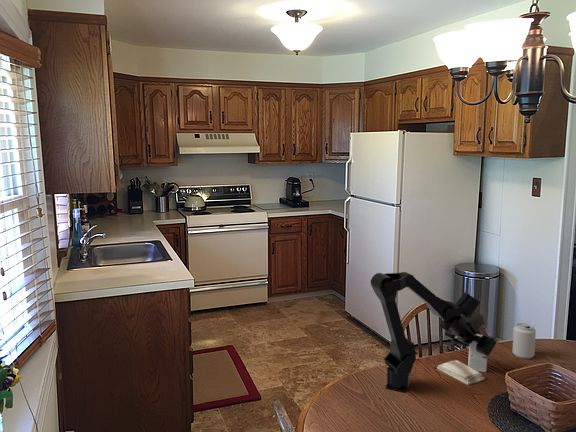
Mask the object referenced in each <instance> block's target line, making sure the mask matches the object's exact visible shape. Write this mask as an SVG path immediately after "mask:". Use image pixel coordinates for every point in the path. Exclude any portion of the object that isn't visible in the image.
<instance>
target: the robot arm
mask: <svg viewBox="0 0 576 432" xmlns="http://www.w3.org/2000/svg"><path fill="white" fill-rule="evenodd" d="M370 286H371V288H372V290H373V293H375V295H376V297H377V298H378V299H379V301H380V304H381V307H382V311H383V314H384V318H385V322H386V325H387V329H388V331H389V336H390V339H391V341H390V344H389V350H390V351H389V352H388V353H387V355H386V356H384V358H383V362H384V363H385V365H386V366H387V369H386V380H387V381H386V385H385V389H387V390H388V389H389V390H393V391H396V392H403V393H405V392H406V391H407V389H408V388H410V381H411V379H410V377H411V375H410V374H411V372H412V369H413V366H414V363H415V362H416V360H417V356H416V355H418V352H416V347H415V343H414V342H413V341H412V340H410V339H408V338H407V337H406V333H405V329H404V327H403V324H402V320H401V317H400V316H401V315H400V313H399V309H398V305H397V301H396V299H397V295H398V292H399V291H402V290H404V289H406V288H407V289H409V290H410V291H411V292H412V293H414V294H415V295H416V296H417V297H418V298H419V299H421V301H423V302H424V303H425V305H426V306H427V308H428V310H429V311H430V312H431V313H432V314H433V315H434V316H437V317H439V318H440V319H442V320H440V324H439V327H440V328H441V329H442V330H444V336H445V337H446V338H447V339H449V340H452V341H453V342H455V343H457V344H460V345H462V346H466V347H468V348H469V344H470V343H472V342H473V341H474V342H476V343H478V344H477V345H476V350H477V352H479V353H481V354H484V355H486V356H487V357H488V356H490V354H491V353H492V351H493V349H494V348H495V346H496V345H497V340H496V338H495V337H493V336H490V335H488V334H482V335H483V336H482V337H480V336H478V335H476V334H479V332H480V331H479V329H480V328H481V327H483V326H484V325H485V324H486V321H485V318H484V316H483V315H484V314H483V315H482V314H480V313H478V312H476V311H477V309H478V308H479V307H480V306H481V302H480V301H479V300H478V299H476V298H475V297H473V296H472V295H470V294H469V293H468V292H463V294H462V296H461V297H460V298H458V300H457V301H456V303H454V302H452V301H446V300H444V299H442V298H441V297H438V296H437V295H436V294H435V293H433V292H432V291H431V290H430V289H428V288H427V287H426V286H425V285H424V284H423V283H421V282H420V281H419V280H418V279H417V278H416V277H415V276H414V275H413V274H412V273H409V272H407V271H401V272H390V273H388V272H387V273H382V272H378V273H377V272H376V273H375V274H374V275H373V276H372V277H371V279H370Z"/></svg>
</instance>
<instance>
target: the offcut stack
mask: <svg viewBox="0 0 576 432" xmlns="http://www.w3.org/2000/svg"><path fill="white" fill-rule="evenodd" d="M436 368H437V370H439V371H441V372H443V373H445V374H446V375H448V376H450V377H451V378H454V379H456V380H457V381H460V382H461V383H463V384H464V385H466V386H469V385H473V384H475V383H479V382H481V381H485V380H486V379H485V378H486V377H485V376H484V375H483V374H482V373H481V372H480V371H476V370H474V369H472V368H470V367H468V365H466V364H464V363H462V362H461V361H459V360H457V359H455V360H450V361H447V362H444V363H442V364H438V365H437V367H436Z"/></svg>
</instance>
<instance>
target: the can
mask: <svg viewBox="0 0 576 432" xmlns="http://www.w3.org/2000/svg"><path fill="white" fill-rule="evenodd" d="M536 333H537V331H536V329H535V326H534V325H533V324H530V323H527V322H517V323H516V324H515V326H514V327H513V335H512V353H513V355H514V356H515V357H517V358H519V359H525V360H530V359H532V358H533V357H535V354H536V353H535V352H536Z"/></svg>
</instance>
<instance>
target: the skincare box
mask: <svg viewBox="0 0 576 432" xmlns="http://www.w3.org/2000/svg"><path fill="white" fill-rule="evenodd" d="M476 335H478V336H480V337H482V336H483V335H484V334H479V333H478V334H476ZM477 344H478V343H476V342H474V341H473V342H472V343H470V344H469V347H468V359H467V361H468V362H467V363H468V364H467V366H468V367H470V368H472V369H474V370H476V371H478V372H479V373H481V372H482V373H486V372H487V364H488V355H487V356H486V355H484V354H481V353H479V352H477V350H476V345H477Z"/></svg>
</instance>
